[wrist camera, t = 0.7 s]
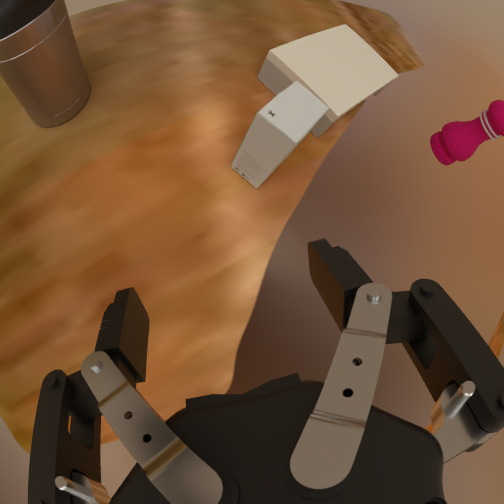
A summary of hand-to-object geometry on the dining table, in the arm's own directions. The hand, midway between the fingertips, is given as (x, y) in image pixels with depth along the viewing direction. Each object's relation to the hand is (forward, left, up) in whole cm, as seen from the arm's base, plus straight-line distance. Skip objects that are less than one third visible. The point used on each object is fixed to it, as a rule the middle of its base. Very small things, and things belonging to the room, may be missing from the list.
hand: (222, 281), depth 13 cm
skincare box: (-6, +15, -19) cm, 25 cm away
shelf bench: (-10, +33, -18) cm, 39 cm away
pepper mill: (+11, +47, -19) cm, 51 cm away
